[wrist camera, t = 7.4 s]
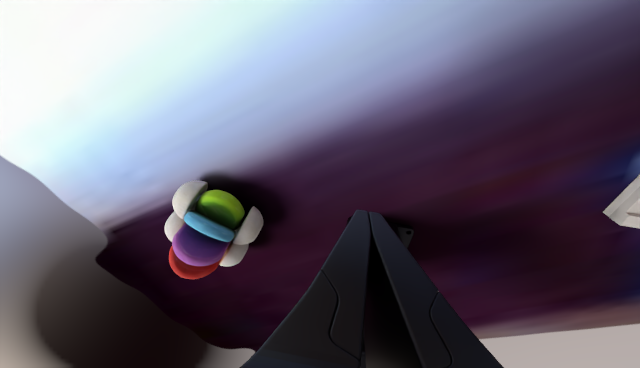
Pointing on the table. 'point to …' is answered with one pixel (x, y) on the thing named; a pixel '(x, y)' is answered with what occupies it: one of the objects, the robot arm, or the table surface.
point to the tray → (626, 206)
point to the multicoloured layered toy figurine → (208, 230)
